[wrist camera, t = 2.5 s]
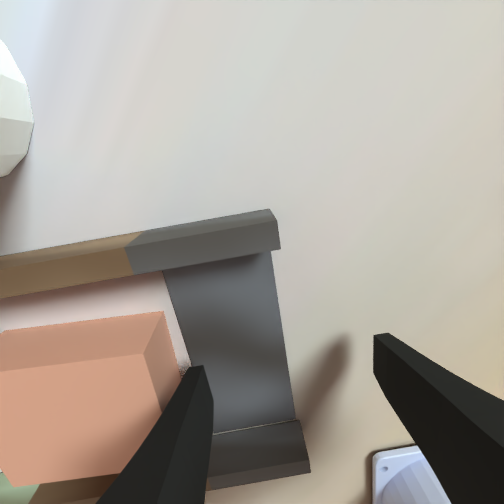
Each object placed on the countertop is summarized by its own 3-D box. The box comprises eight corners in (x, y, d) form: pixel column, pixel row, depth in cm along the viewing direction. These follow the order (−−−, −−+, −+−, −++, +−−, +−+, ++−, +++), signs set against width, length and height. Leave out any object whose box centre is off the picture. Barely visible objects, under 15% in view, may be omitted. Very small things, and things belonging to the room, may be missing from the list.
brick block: (189, 403, 14) (178, 465, 11) (58, 420, 14) (13, 487, 11) (165, 307, 12) (143, 353, 9) (10, 326, 12) (-61, 379, 9)
